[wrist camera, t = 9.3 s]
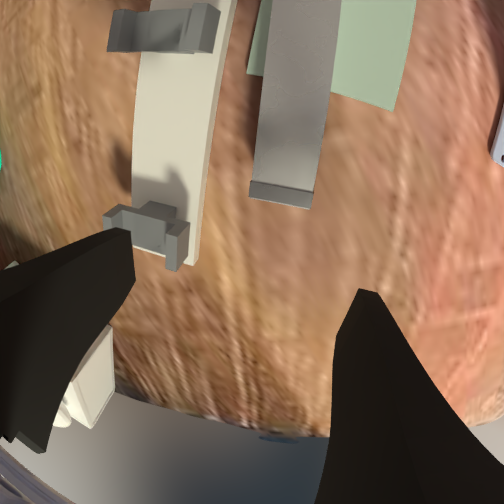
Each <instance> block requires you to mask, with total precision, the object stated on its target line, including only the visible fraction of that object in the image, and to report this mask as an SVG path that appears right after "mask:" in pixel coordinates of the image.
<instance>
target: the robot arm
mask: <svg viewBox="0 0 504 504" xmlns="http://www.w3.org/2000/svg"><path fill="white" fill-rule="evenodd" d="M490 155H491V159H492V160H493V161H494V162H496V163H498V164H499V165H501V166H502V167H504V159H503V161H501V157H502V155H504V104H503V109H502V113H501V117H500V121H499V125H498V128H497V132H496V135H495V139H494V142H493V145H492V148H491V152H490ZM135 281H136V278H135V269H134V260H133V250H132V239H131V231H129V230H125V229H122V228H118V227H115V228H111V229H108V230H105V231H102V232H99V233H96V234H94V235H91V236H88V237H86V238H83V239H81V240H79V241H76V242H74V243H71V244H69V245H67V246H64V247H62V248H59V249H57V250H55V251H52V252H49V253H47V254H44V255H42V256H40V257H37V258H35V259H32V260H30V261H27V262H24V263H22V264H19V265H16V266H13V267H10V268H7V269H4V270H1V271H0V439H1V437H2V436H3V437H4V438H5V439H6V440H7V441H8V442H9V443H12V441H13V440H14V438H15V437H16V438H17V439H19V440H20V441H21V442H22V443H24V444H25V445H26V446H27V447H29V448H30V449H31V450H33V451H34V452H36V453H38V454H40V453H44V452H46V448H47V444H48V440H49V436H50V433H51V429H52V426H53V423H54V420H55V417H56V414H57V412H58V409H59V406H60V404H61V401H62V399H63V397H64V394H65V392H66V390H67V388H68V385H69V383H70V381H71V379H72V377H73V375H74V373H75V372H76V370H77V368H78V366H79V364H80V362H81V360H82V359H83V357H84V356H85V354H86V353H87V351H88V350H89V348H90V347H91V346H92V344H93V343H94V341H95V340H96V339H97V337H98V336H99V335H100V333H101V332H102V331H103V329H104V328H105V327H106V325H107V324H108V323H109V321H110V320H111V319H112V317H113V316H114V315H115V313H116V312H117V311H118V309H119V308H120V307H121V305H122V304H123V302H124V301H125V299H126V297H127V296H128V294H129V292H130V290H131V288H132V287H133V285H134V283H135ZM0 473H1V474H2V475H3V476H4V477H5V478H6V479H5V478H3V477H2V476H1V474H0V504H75V503H73V502H72V501H70V500H69V499H67V498H66V497H64V496H63V495H61V494H60V493H58V492H57V491H55V490H54V489H53V488H51V487H50V486H48V485H47V484H46V483H44V482H43V481H42V480H40V479H39V478H38V477H36V476H35V475H33V473H31V472H30V471H29V470H27V469H26V468H25V467H24V466H23V465H22V464H20V463H19V462H18V461H17V460H16V459H14V457H12V456H11V455H10V454H9V453H8V452H7V451H6V450H5V449H4V448H3V447H2V446H0ZM314 504H504V465H503V464H501V463H500V462H499V461H498V460H497V459H496V458H495V457H494V456H493V455H492V454H491V453H490V452H489V451H488V450H487V449H486V448H485V447H484V446H483V445H482V444H481V442H480V441H479V440H478V439H477V438H476V437H475V436H474V435H473V434H472V432H471V431H470V430H469V429H468V428H467V426H466V425H465V424H464V423H463V422H462V420H461V419H460V418H459V417H458V416H457V414H456V413H455V412H454V410H453V409H452V408H451V407H450V405H449V404H448V402H447V401H446V400H445V398H444V397H443V396H442V394H441V393H440V391H439V390H438V389H437V387H436V386H435V384H434V383H433V381H432V380H431V378H430V377H429V375H428V374H427V372H426V371H425V369H424V368H423V366H422V364H421V363H420V361H419V360H418V358H417V357H416V355H415V353H414V352H413V350H412V349H411V347H410V345H409V344H408V342H407V340H406V339H405V337H404V335H403V333H402V332H401V330H400V328H399V327H398V325H397V323H396V322H395V320H394V318H393V317H392V315H391V313H390V311H389V310H388V308H387V307H386V305H385V303H384V302H383V300H382V298H381V297H380V295H379V294H378V293H377V292H373V291H368V290H364V289H360V288H359V289H358V291H357V293H356V296H355V298H354V300H353V302H352V304H351V306H350V308H349V310H348V313H347V315H346V317H345V319H344V321H343V323H342V325H341V327H340V329H339V331H338V333H337V335H336V342H335V349H334V357H333V370H332V408H331V428H330V438H329V444H328V450H327V455H326V460H325V465H324V469H323V473H322V478H321V482H320V485H319V490H318V493H317V496H316V500H315V503H314Z"/></svg>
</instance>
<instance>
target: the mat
mask: <svg viewBox="0 0 504 504" xmlns="http://www.w3.org/2000/svg"><path fill="white" fill-rule="evenodd" d="M272 2H273V0H262V1H261V5H260V10H259V14H258V19H257V23H256V28H255V33H254V38H253V42H252V47H251V52H250V57H249V62H248V67H247V72H246V74H251V75H257V76H263V77H264V68H265V60H266V51H267V43H268V35H269V27H270V19H271V10H272ZM415 6H416V0H342V3H341V13H340V22H339V31H338V39H337V47H336V55H335V62H334V70H333V77H332V84H331V90H330V92H333V93H337V94H340V95H344V96H347V97H350V98H353V99H357V100H360V101H363V102H366V103H369V104H372V105H375V106H377V107H380V108H383V109H386V110H388V111H391V112H393V110H394V106H395V102H396V99H397V95H398V91H399V87H400V82H401V78H402V74H403V70H404V65H405V61H406V56H407V51H408V46H409V41H410V36H411V30H412V25H413V19H414V13H415Z"/></svg>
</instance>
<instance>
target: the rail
mask: <svg viewBox="0 0 504 504" xmlns="http://www.w3.org/2000/svg"><path fill="white" fill-rule="evenodd" d="M341 3H342V0H273V2H272V10H271V19H270V27H269V35H268V43H267V51H266V60H265V68H264V77H263V85H262V94H261V102H260V111H259V120H258V129H257V137H256V146H255V155H254V164H253V173H252V180H251V181H250V188H249V197H250V198H252V199H257V200H263V201H268V202H273V203H279V204H284V205H289V206H294V207H299V208H304V209H311V204H312V199H313V194H314V183H315V178H316V173H317V167H318V162H319V156H320V151H321V145H322V140H323V134H324V128H325V122H326V116H327V110H328V103H329V97H330V90H331V84H332V77H333V70H334V62H335V55H336V47H337V39H338V31H339V22H340V13H341Z"/></svg>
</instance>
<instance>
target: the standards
mask: <svg viewBox="0 0 504 504" xmlns="http://www.w3.org/2000/svg"><path fill="white" fill-rule="evenodd" d="M237 1H238V0H152V1H151V5H150V10H149V11H143V12H135V11H131V10H127V9H120V10H114V12H113V17H112V22H111V27H110V33H109V39H108V45H107V52H123V53H130V52H142V53H141V60H140V67H139V75H138V83H137V92H136V102H135V114H134V128H133V146H132V207H129V206H125V205H122V204H118V205H116V206H115V207H114V208H112V209H111V210H109V211H108V212H107V213H105V214H104V215H102V217H103V229H104V231H105V230H108V229H111V228H115V227H118V228H122V229H125V230H129V231H131V239H132V245H133V247H134V248H137V249H140V250H144V251H147V252H150V253H153V254H156V255H159V256H163V257H166V269H168V270H171V271H175V272H177V270H178V269H179V268H180V266H181V265H182V263H185V264H189V265H192V266H194V264H195V263H196V261H197V260H198V257H199V246H200V236H201V226H202V216H203V207H204V198H205V190H206V182H207V174H208V166H209V158H210V151H211V144H212V137H213V130H214V123H215V117H216V111H217V104H218V98H219V92H220V86H221V81H222V75H223V69H224V64H225V59H226V53H227V48H228V43H229V38H230V33H231V28H232V24H233V19H234V14H235V10H236V5H237Z"/></svg>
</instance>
